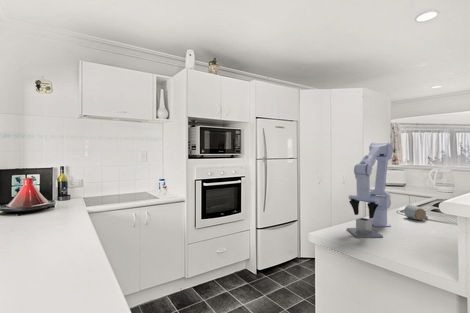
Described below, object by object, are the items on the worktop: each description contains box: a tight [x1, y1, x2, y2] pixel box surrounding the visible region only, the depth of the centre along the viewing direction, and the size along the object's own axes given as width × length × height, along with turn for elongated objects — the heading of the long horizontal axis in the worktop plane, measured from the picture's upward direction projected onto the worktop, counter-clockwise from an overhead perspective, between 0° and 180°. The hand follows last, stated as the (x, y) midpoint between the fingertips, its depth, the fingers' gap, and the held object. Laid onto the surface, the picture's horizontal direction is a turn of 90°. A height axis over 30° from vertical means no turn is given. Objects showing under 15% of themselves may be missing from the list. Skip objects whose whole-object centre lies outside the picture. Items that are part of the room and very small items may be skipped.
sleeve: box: [355, 217, 373, 234], centre depth 125 cm, size 5×5×6 cm
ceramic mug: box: [403, 204, 429, 221], centre depth 146 cm, size 11×8×8 cm
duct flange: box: [346, 227, 384, 239], centre depth 124 cm, size 12×12×5 cm
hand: (363, 216), depth 124 cm, fingers open, 7 cm apart
